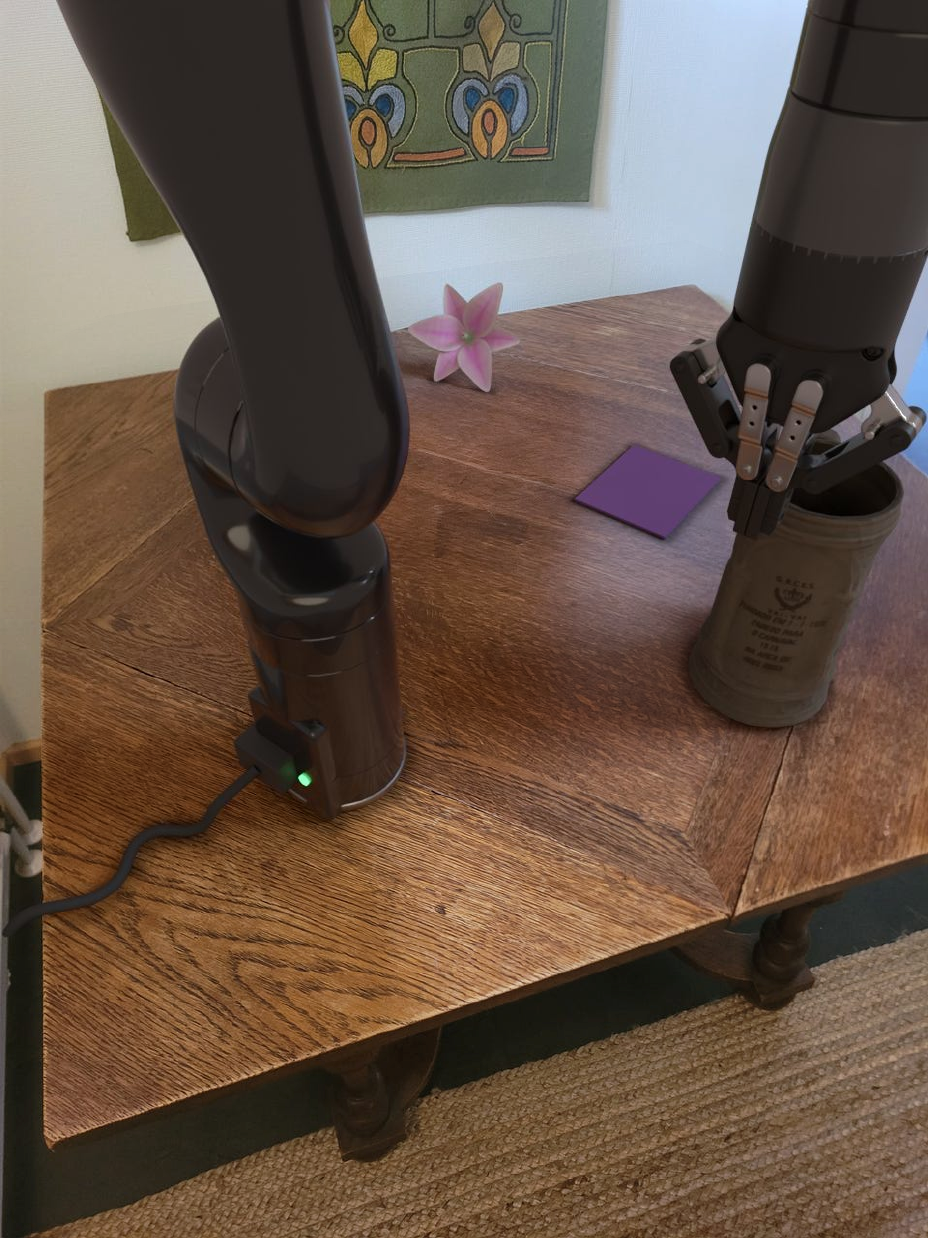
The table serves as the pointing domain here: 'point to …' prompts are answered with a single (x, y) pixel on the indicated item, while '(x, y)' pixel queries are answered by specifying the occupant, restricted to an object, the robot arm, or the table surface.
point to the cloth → (648, 490)
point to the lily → (466, 334)
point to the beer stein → (793, 599)
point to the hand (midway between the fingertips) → (751, 529)
